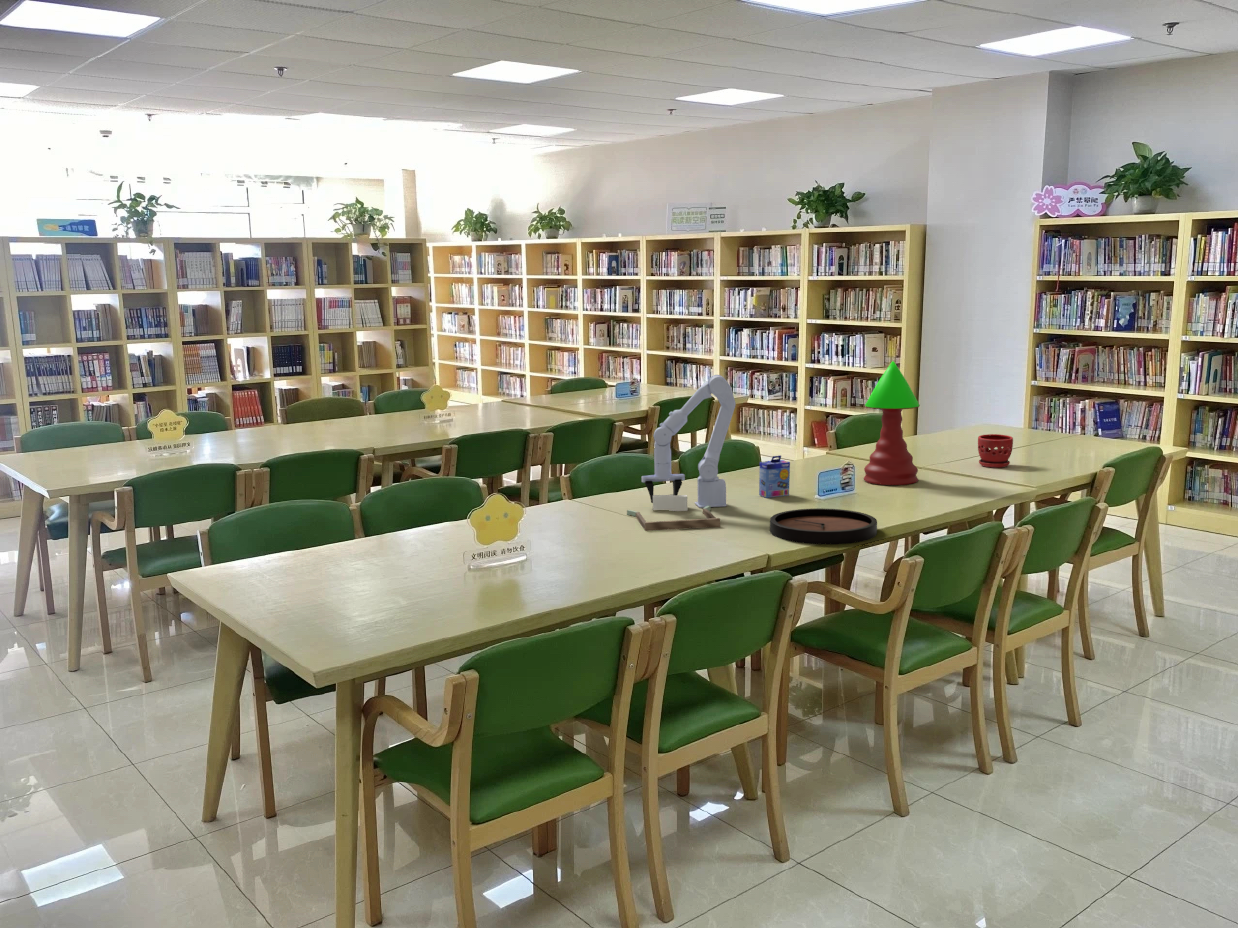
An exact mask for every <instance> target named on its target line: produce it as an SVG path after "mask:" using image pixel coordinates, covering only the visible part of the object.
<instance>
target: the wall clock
mask: <svg viewBox="0 0 1238 928" xmlns="http://www.w3.org/2000/svg"><path fill="white" fill-rule="evenodd" d="M769 533H770V534H771V535H772V536H773V537H775V538H778V539H779V540H780V539H781V540H784V541H787V542H792V543H799V544H805V545H822V546H823V545H824V546H826V545H830V546H831V545H832V546H833V545H849V544H856V543H857V544H858V543H861V542H865V541H869V540H872V539H874V538H875V537H876V536H877V534H878V520H877V518H875V517H874V516H872V515H869V514H868V513H864V512H860V511H855V510H848V509H839V508H818V507H817V508H801V509H800V508H799V509H798V508H797V509H792V510H791V509H790V510H786V511H785V510H784V511H780V512H778V513H775V514H773V515H772V516H770V519H769Z"/></svg>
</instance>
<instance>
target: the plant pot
mask: <svg viewBox="0 0 1238 928" xmlns="http://www.w3.org/2000/svg"><path fill="white" fill-rule="evenodd" d="M1013 447H1014V437H1012V436H1011V435H1007V434H1000V433H999V434H998V433H996V434H993V433H989V434H981V435H979V436H978V437H977V451H978V454H979V455H978V456H979V457H980V459H979V460H978V463H979V464H980V465H981V467H982V466H983V467H986V468H993V469H997V468H998V469H1001V468H1005V467H1008V466H1009V465H1010V464H1011V462H1010V460H1009V459H1010V458H1011V456H1012V455H1011V454H1012V452H1013Z"/></svg>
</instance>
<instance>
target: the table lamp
mask: <svg viewBox="0 0 1238 928" xmlns="http://www.w3.org/2000/svg"><path fill="white" fill-rule="evenodd" d="M919 407H920V402H919V401H918V399H917V398H916V396H915V394H914V392H913V391H912V388H911V387H910V385H909V383H908V380H907V379H906V377H905V376H904V375H903V373H902V372H901V370H900V368H899V367H898V366H897V364H896V362H895V361H894V360H892V361H891V362H890V364H889V365H888V366H887V368H886V370H885V371H884V372H883V373H882V375H881V377H880V378H879V380H878V381H877V384H876V385H875V387H874V388H873V390H872V392H871V394H870V395H869V397H868V399H867V400H866V403H865V404H864V408H867V409H872V410H873V409H874V410H881V411H882V414H881V415H882V416H881V419H880V420H881V425H882V427H881V429H880V431H879V432H880V437H879V439H878V440H877V441H876V443H875V449H874V451H873V452H872V453H871V454H870V455H869V462H868V463H867V465H865V466H864V468H863V471H864V473H865V475H864V477H863V481H865V483H869V484H874V485H880V486H883V485H884V486H905V485H906V486H907V485H912V484H915V483H918V481H919V478H918V476H917V474H918V471H919V470H918V468H917V467H918V466H916V464H914V462H913V460H914V457H913V456H912V454H911V453H910V452H909V450H908V444H907V442H906V441H905V439H904V437H903V436H904V431H903V428H902V422H903V415H902V412H903V410H912V409H917V408H919Z"/></svg>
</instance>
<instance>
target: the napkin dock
mask: <svg viewBox="0 0 1238 928" xmlns="http://www.w3.org/2000/svg"><path fill="white" fill-rule="evenodd" d="M711 510H712V507H711V506H706V507H703V508H702V515H704V516H705V517H706V518H695V519H680V520H679V519H677V520H658V521H646V520H645V517H643V515H642V514H641V512H640V511H635V510H632V509H627V510H626V515H627V516H630V515H632V517H635V518H636V519H637V521H638V522H639V524H640V525H641V527H642V528H643V529H644V531H645V532H646V531H647V532H652V531H653V532H654V531H668V530H686V529H702V528H704V529H705V528H720V527H721V518H720V517H716V516H715V515H713V513H711Z"/></svg>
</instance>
